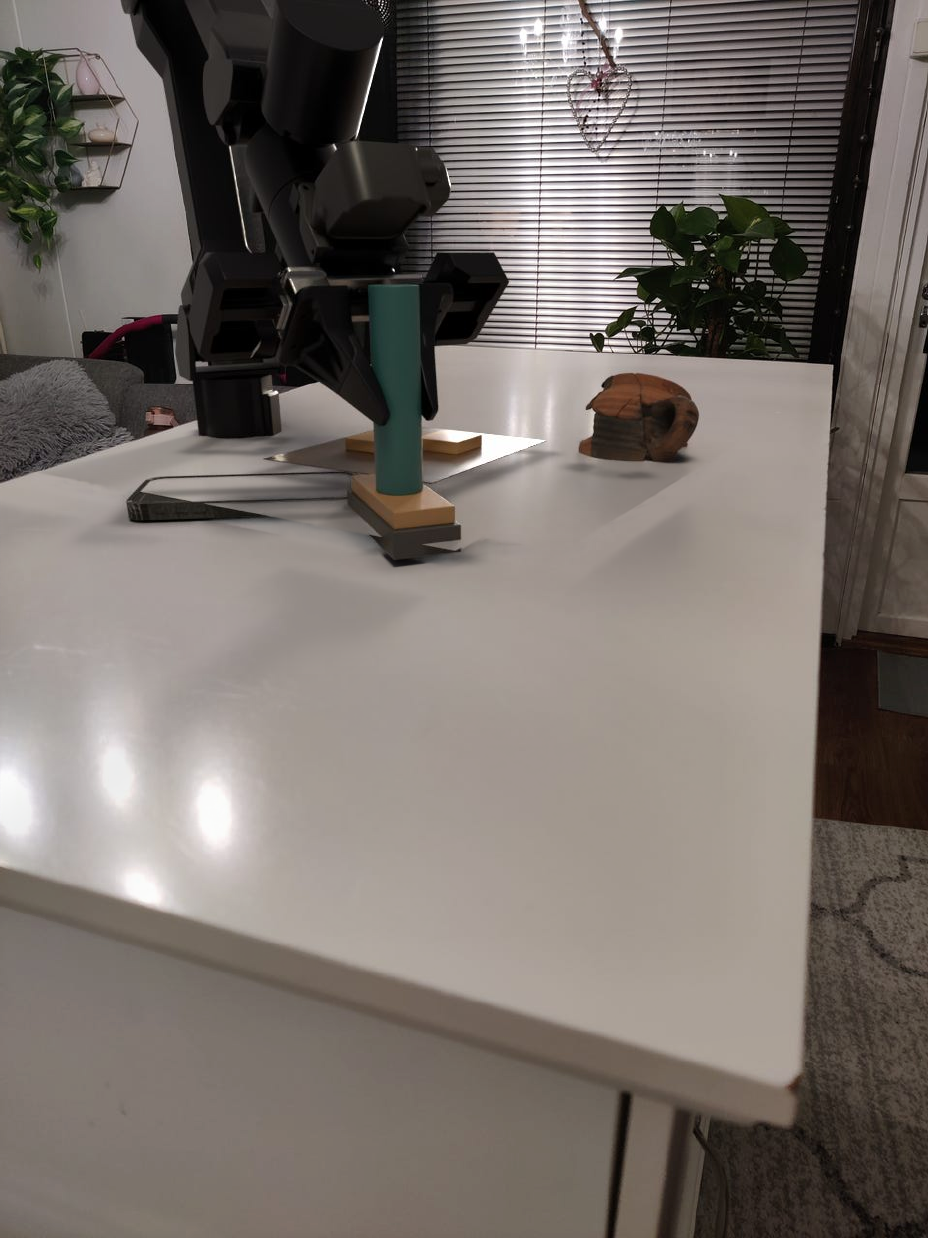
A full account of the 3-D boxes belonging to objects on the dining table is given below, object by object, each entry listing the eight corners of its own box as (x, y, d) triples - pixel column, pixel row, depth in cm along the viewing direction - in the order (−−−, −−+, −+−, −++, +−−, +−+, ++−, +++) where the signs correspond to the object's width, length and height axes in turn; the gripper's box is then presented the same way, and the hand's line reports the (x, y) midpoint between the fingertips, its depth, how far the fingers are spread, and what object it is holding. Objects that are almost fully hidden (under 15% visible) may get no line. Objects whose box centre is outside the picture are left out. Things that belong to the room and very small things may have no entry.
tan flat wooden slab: (415, 449, 72) (415, 437, 72) (442, 441, 75) (442, 429, 75) (457, 454, 70) (456, 442, 70) (482, 446, 73) (482, 434, 73)
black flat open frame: (148, 476, 63) (356, 470, 65) (150, 492, 64) (357, 485, 65) (121, 505, 56) (357, 496, 58) (124, 521, 56) (358, 513, 58)
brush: (348, 514, 57) (335, 282, 51) (406, 508, 58) (400, 281, 53) (393, 560, 48) (384, 288, 43) (461, 552, 49) (461, 287, 44)
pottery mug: (546, 467, 73) (572, 374, 74) (629, 505, 78) (653, 417, 78) (642, 455, 63) (672, 347, 63) (731, 499, 68) (758, 399, 68)
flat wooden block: (345, 449, 72) (344, 437, 72) (374, 441, 75) (374, 430, 75) (384, 454, 70) (384, 442, 70) (412, 446, 73) (412, 434, 73)
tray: (264, 473, 70) (262, 458, 69) (396, 436, 84) (395, 424, 83) (431, 499, 62) (431, 483, 61) (546, 454, 76) (546, 440, 76)
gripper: (177, 71, 42) (286, 326, 38) (493, 104, 52) (608, 311, 47) (154, 249, 51) (240, 470, 47) (426, 249, 61) (518, 434, 57)
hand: (409, 418), depth 49 cm, fingers closed on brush, 3 cm apart
